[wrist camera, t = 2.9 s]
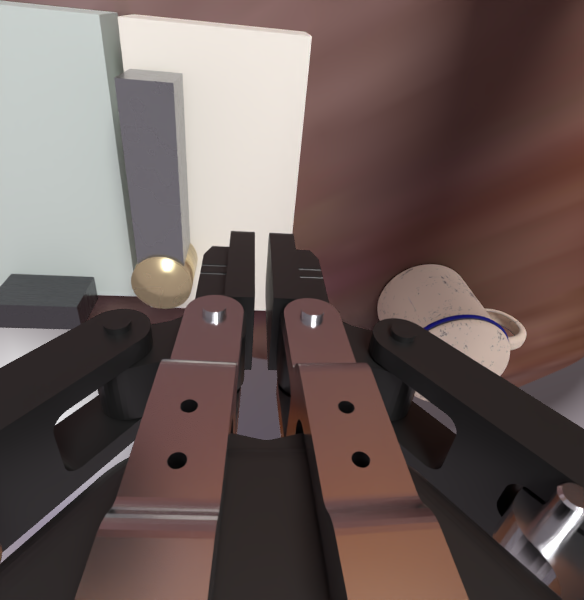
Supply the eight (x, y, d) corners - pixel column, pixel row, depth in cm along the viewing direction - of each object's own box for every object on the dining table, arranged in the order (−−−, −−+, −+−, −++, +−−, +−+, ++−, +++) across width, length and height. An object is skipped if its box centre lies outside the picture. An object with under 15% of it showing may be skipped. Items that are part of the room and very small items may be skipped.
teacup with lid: (370, 339, 45) (401, 433, 35) (378, 262, 40) (417, 347, 30) (484, 332, 45) (546, 422, 36) (507, 255, 40) (586, 336, 30)
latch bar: (198, 281, 34) (192, 309, 31) (145, 279, 34) (134, 307, 30) (191, 74, 26) (182, 84, 23) (121, 67, 25) (102, 77, 22)
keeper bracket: (11, 273, 33) (-16, 304, 30) (94, 276, 34) (76, 307, 30) (18, 295, 34) (-7, 327, 31) (98, 298, 35) (81, 329, 32)
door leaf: (-108, -11, 26) (-160, -12, 23) (117, 12, 28) (98, 14, 24) (-12, 264, 37) (-38, 290, 34) (146, 270, 38) (136, 296, 35)
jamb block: (133, 14, 28) (117, 16, 24) (305, 31, 29) (311, 36, 26) (159, 280, 39) (150, 306, 36) (282, 285, 40) (284, 311, 37)
